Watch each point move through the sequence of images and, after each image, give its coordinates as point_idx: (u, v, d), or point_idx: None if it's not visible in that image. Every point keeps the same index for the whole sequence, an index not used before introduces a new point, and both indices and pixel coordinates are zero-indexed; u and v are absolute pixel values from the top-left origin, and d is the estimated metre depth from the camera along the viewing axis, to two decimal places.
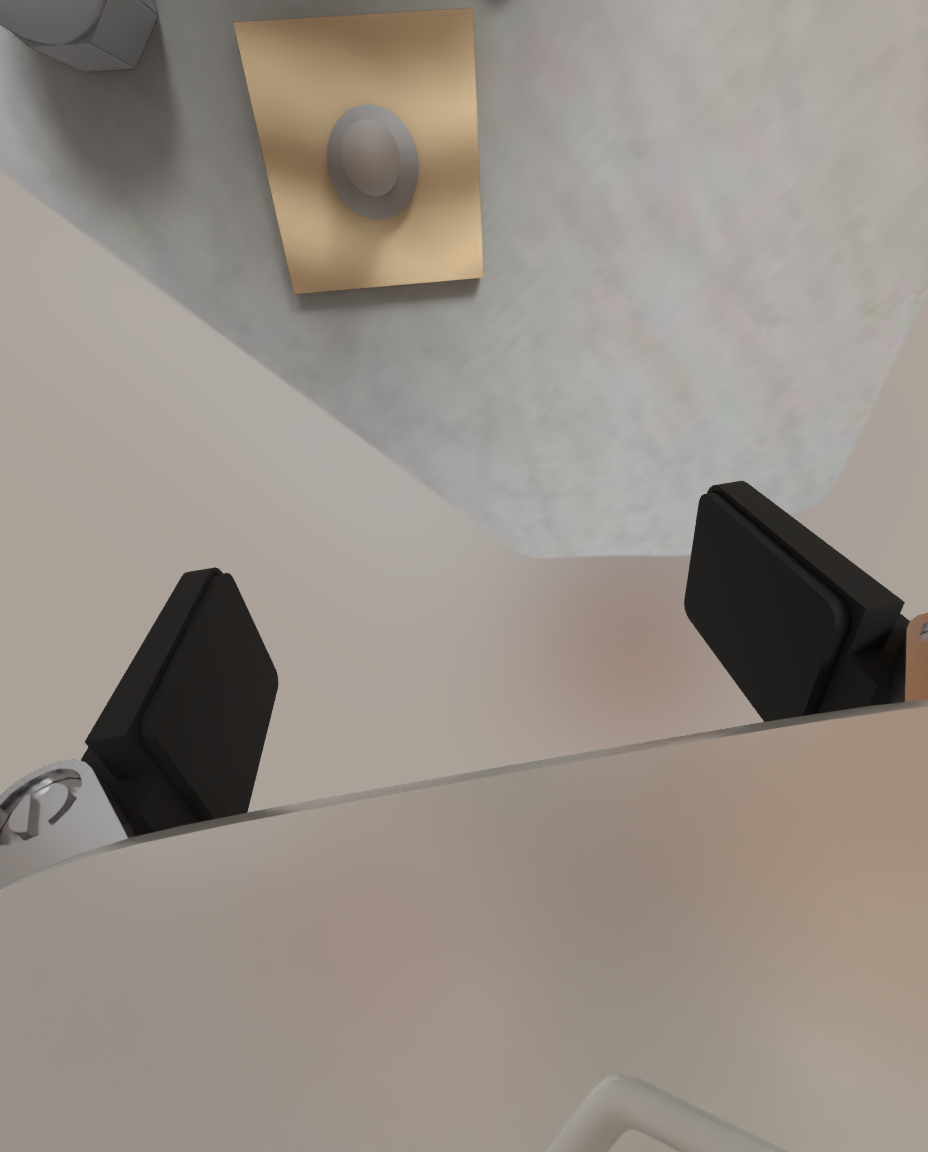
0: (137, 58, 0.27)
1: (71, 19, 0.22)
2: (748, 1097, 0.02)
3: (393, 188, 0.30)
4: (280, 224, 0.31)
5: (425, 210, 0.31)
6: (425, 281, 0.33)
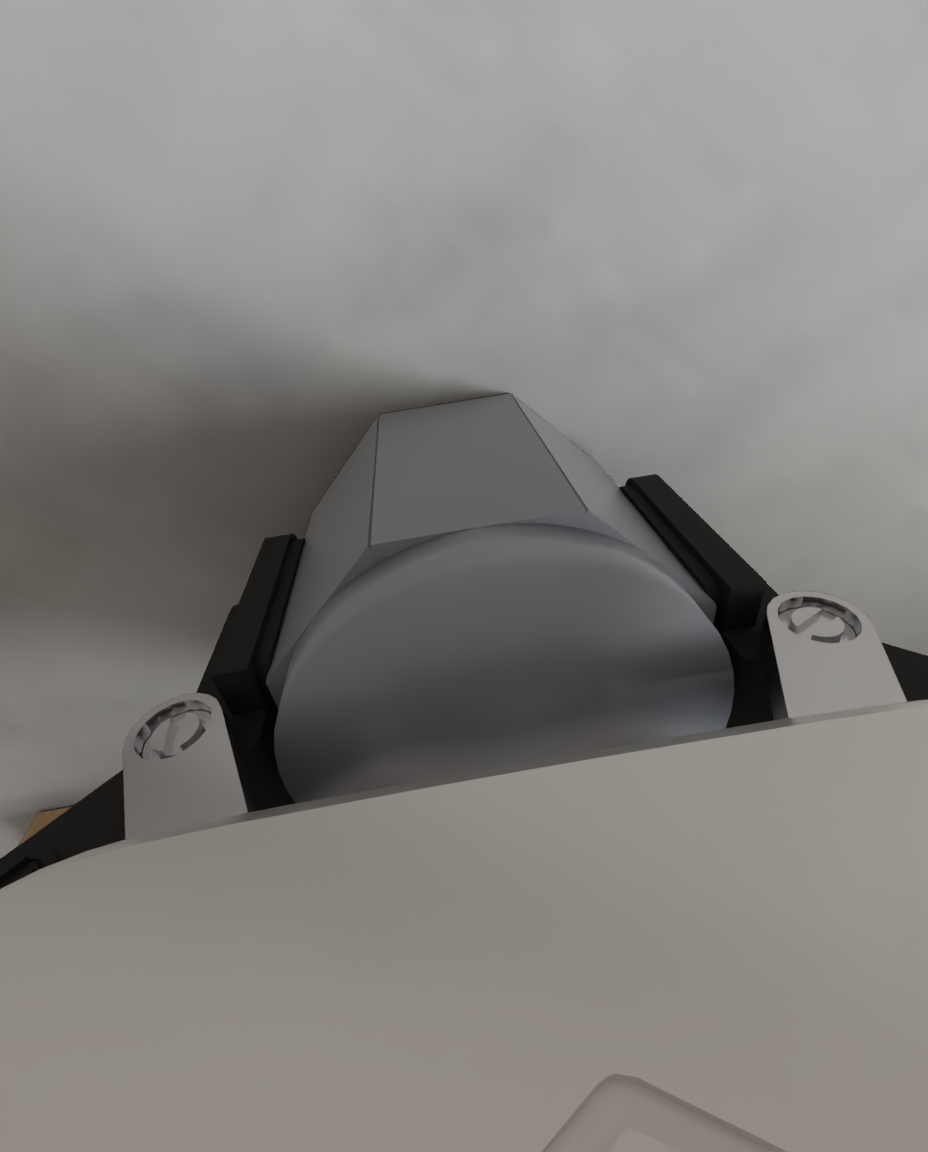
0: None
1: None
2: (750, 1097, 0.02)
3: None
4: None
5: None
6: None
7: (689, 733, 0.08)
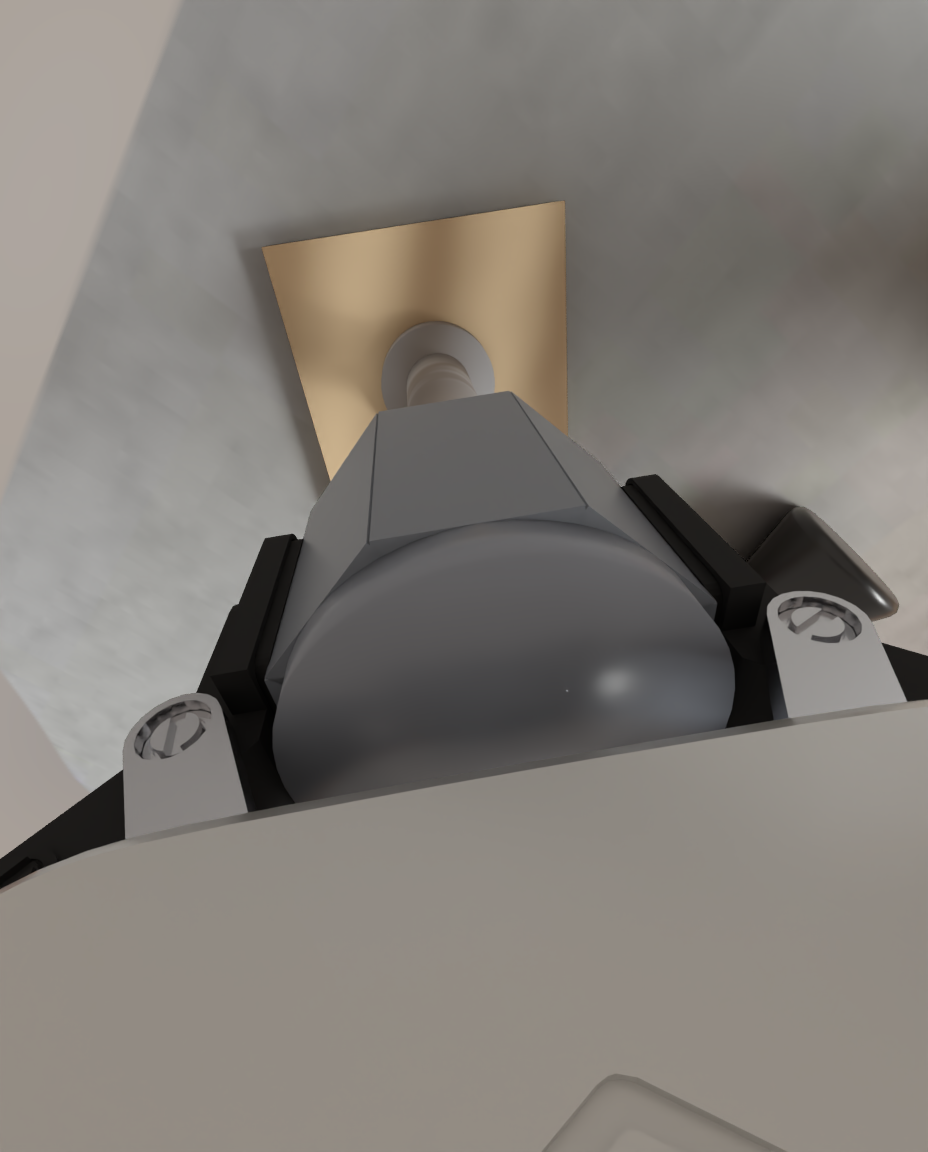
0: None
1: None
2: (750, 1099, 0.02)
3: None
4: (355, 237, 0.21)
5: None
6: (322, 449, 0.25)
7: (689, 731, 0.08)
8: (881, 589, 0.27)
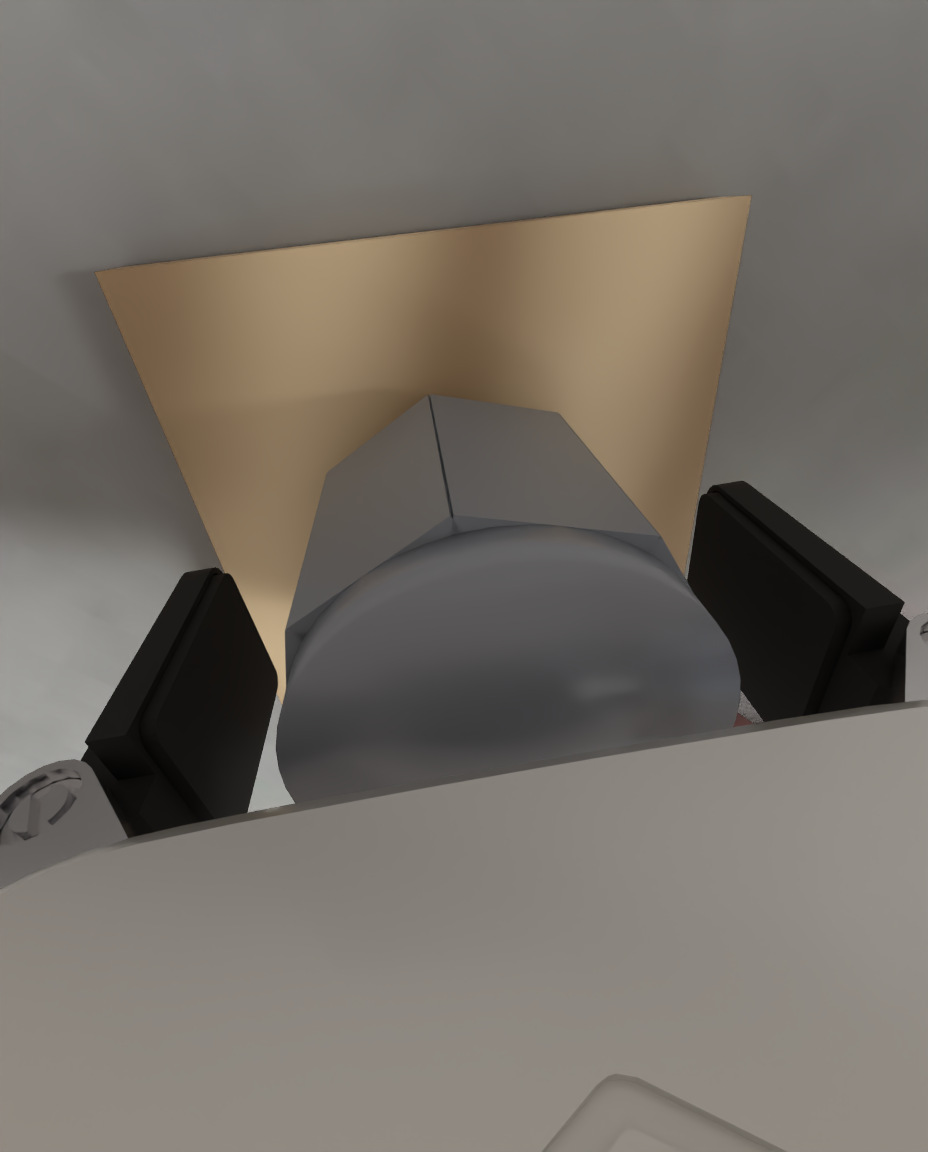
0: None
1: None
2: (750, 1099, 0.02)
3: None
4: (303, 257, 0.10)
5: None
6: None
7: (594, 604, 0.06)
8: None
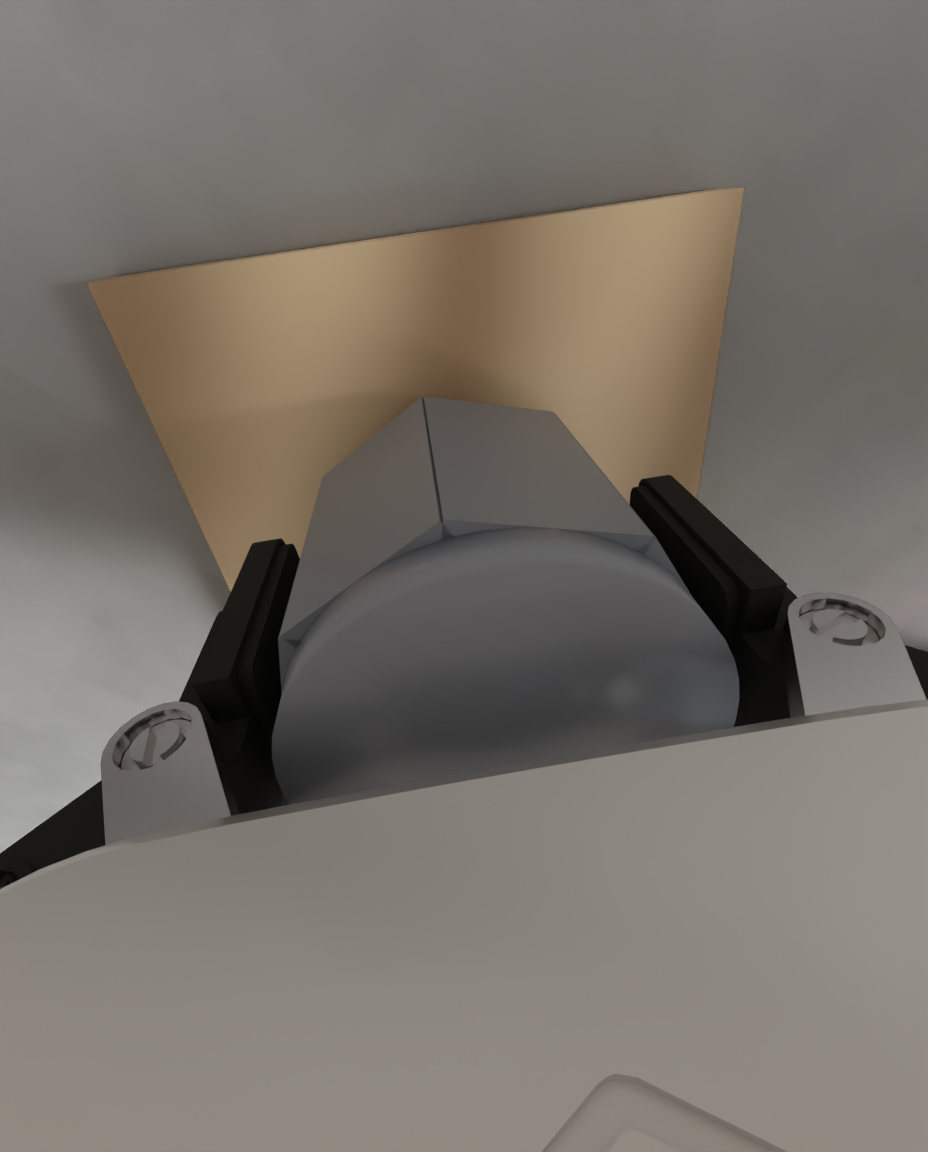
0: None
1: None
2: (751, 1101, 0.02)
3: None
4: (293, 262, 0.10)
5: None
6: None
7: (587, 607, 0.06)
8: None
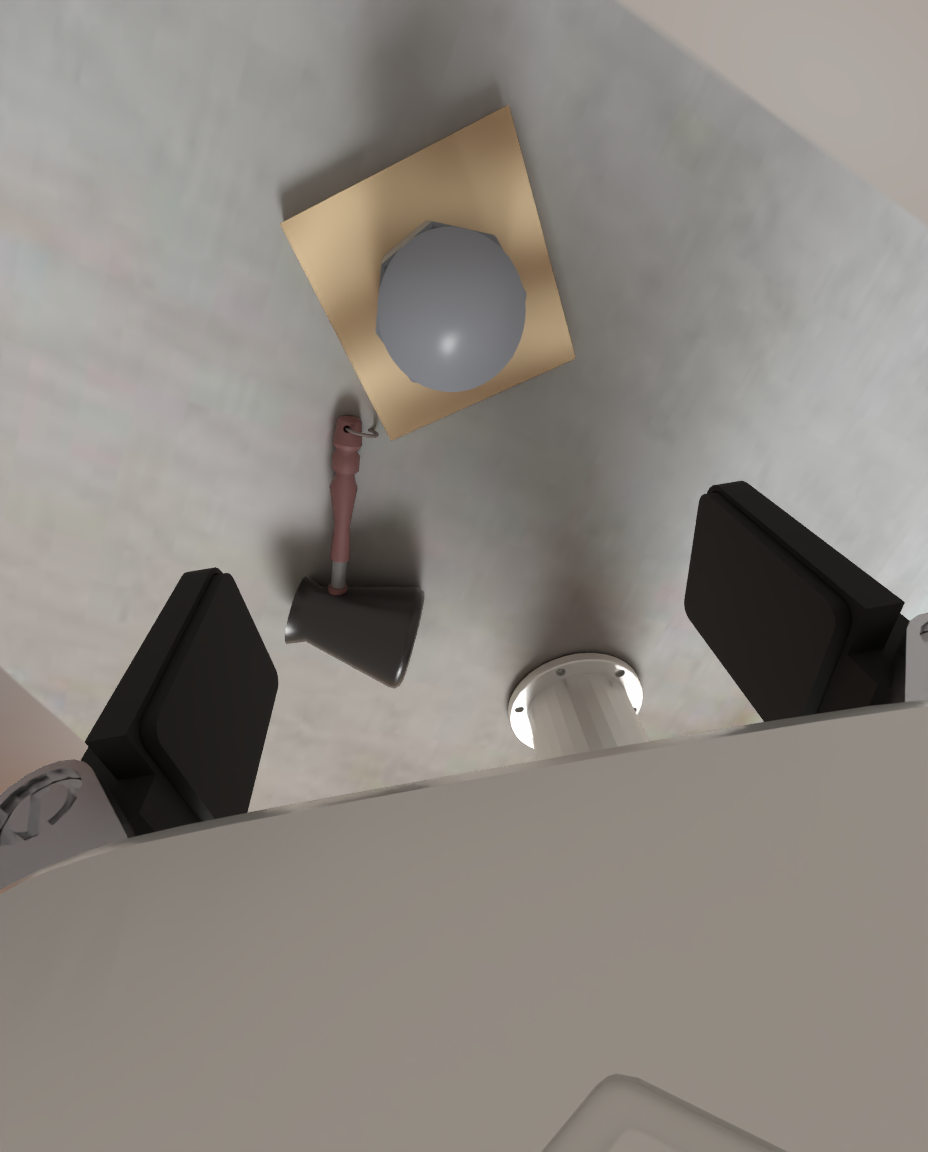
0: None
1: (467, 382, 0.24)
2: (748, 1097, 0.02)
3: None
4: (529, 197, 0.26)
5: (376, 274, 0.27)
6: (348, 189, 0.25)
7: (472, 246, 0.21)
8: (408, 663, 0.35)
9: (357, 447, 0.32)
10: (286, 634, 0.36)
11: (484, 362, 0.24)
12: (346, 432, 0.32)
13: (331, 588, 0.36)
